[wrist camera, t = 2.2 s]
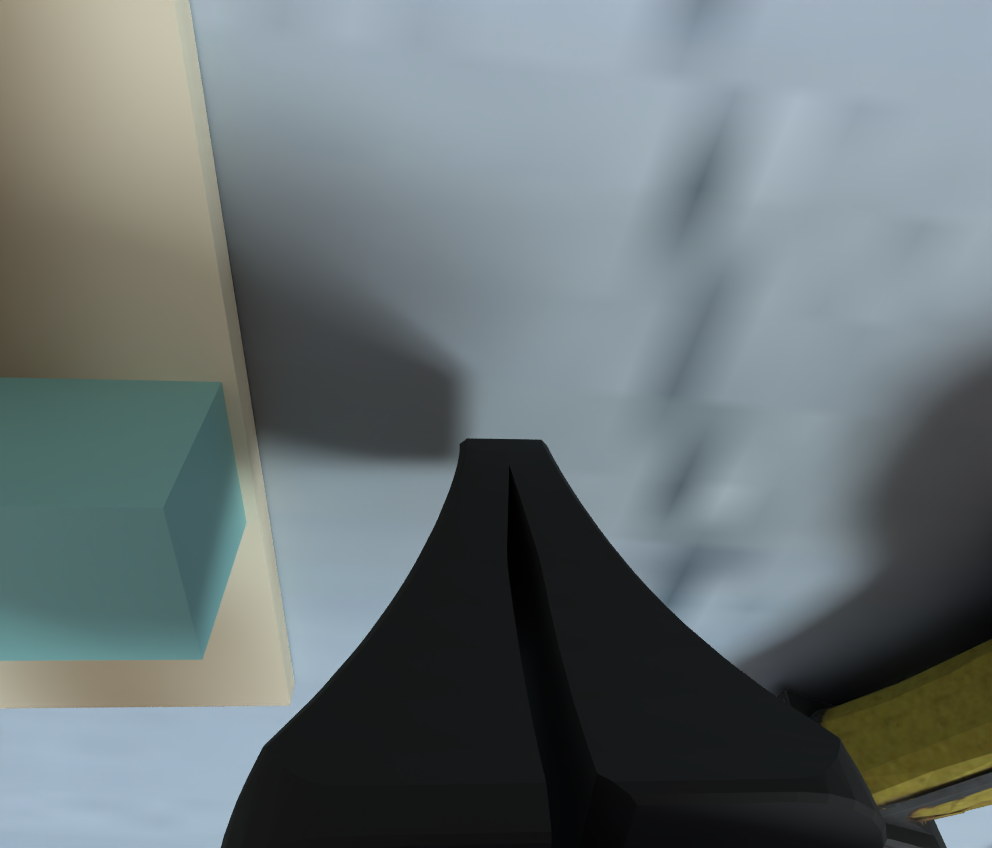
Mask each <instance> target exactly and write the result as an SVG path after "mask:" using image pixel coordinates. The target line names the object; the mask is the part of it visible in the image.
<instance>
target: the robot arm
mask: <svg viewBox="0 0 992 848" xmlns="http://www.w3.org/2000/svg"><path fill="white" fill-rule="evenodd" d="M886 840H887V835H886V824H885V822H884V820H883V818H882V816H881V813H880V811H879V809H878V807H877V805H876V803H875V801H874V798H873V796H872V794H871V792H870V790H869V788H868V786H867V784H866V782H865V780H864V779H863V777H862V775H861V773H860V771H859V769H858V768H857V766H856V765H855V763H854V761H853V760H852V758H851V756H850V755H849V753H848V752H847V750H846V748H845V746H844V745H843V743H842V741H841V739H840V738H839V737H838V736H836V735H834V734H833V733H831V732H830V731H828V730H827V729H825V728H824V727H822V726H821V725H819V724H817V723H816V722H814V721H813V720H811V719H810V718H808V717H807V716H805V715H804V714H802V713H801V712H799V711H797V710H796V709H794V708H793V707H791V706H790V705H788V704H787V703H785V702H784V701H782V700H780V699H779V698H777V697H776V696H774V695H773V694H772V693H770V692H769V691H767V690H766V689H765V688H763V687H762V686H761V685H759V684H758V683H757V682H755V681H754V680H753V679H751V678H750V677H749V676H747V675H746V674H745V673H743V672H742V671H740V670H739V669H738V668H736V667H735V666H734V665H733V664H731V663H730V662H729V661H728V660H726V659H725V658H724V657H723V656H721V655H720V654H719V653H718V652H717V651H716V650H714V649H713V648H712V647H711V646H710V645H709V644H707V643H706V642H705V641H704V640H703V639H702V638H700V637H699V636H698V635H697V634H696V633H695V632H693V631H692V630H691V629H690V628H689V627H688V626H686V625H685V624H684V623H683V622H682V621H681V620H680V619H679V618H678V617H677V616H676V615H675V614H674V613H673V612H672V611H671V610H670V609H669V608H667V607H666V606H665V605H664V604H663V603H662V601H661V600H660V599H659V598H658V597H657V596H656V595H655V594H654V593H653V592H652V591H651V590H650V589H649V588H648V587H647V586H646V585H645V584H644V583H643V581H642V580H641V579H640V578H639V577H638V576H637V575H636V574H635V573H634V571H633V570H632V569H631V568H630V567H629V566H628V564H627V563H626V562H625V561H624V560H623V558H622V557H621V556H620V555H619V553H618V552H617V551H616V550H615V549H614V547H613V546H612V545H611V544H610V542H609V541H608V540H607V538H606V537H605V536H604V534H603V533H602V532H601V530H600V529H599V528H598V526H597V525H596V524H595V522H594V521H593V519H592V518H591V517H590V515H589V514H588V512H587V511H586V509H585V508H584V507H583V505H582V504H581V502H580V501H579V499H578V498H577V496H576V495H575V493H574V492H573V490H572V489H571V487H570V485H569V484H568V482H567V481H566V479H565V477H564V476H563V474H562V472H561V471H560V469H559V467H558V465H557V464H556V462H555V460H554V458H553V456H552V455H551V453H550V451H549V449H548V447H547V445H546V444H545V443H544V442H543V441H542V440H528V439H469V438H467V439H466V440H465V441H463V442H462V443H461V444H460V453H459V459H458V464H457V468H456V472H455V475H454V478H453V481H452V484H451V487H450V490H449V493H448V495H447V498H446V500H445V503H444V505H443V508H442V510H441V512H440V515H439V517H438V520H437V522H436V524H435V526H434V528H433V530H432V532H431V534H430V536H429V538H428V540H427V542H426V544H425V546H424V548H423V550H422V551H421V553H420V555H419V557H418V559H417V561H416V563H415V564H414V566H413V568H412V570H411V571H410V573H409V575H408V576H407V578H406V580H405V581H404V583H403V584H402V586H401V587H400V589H399V591H398V592H397V594H396V595H395V597H394V598H393V600H392V601H391V603H390V604H389V606H388V607H387V608H386V610H385V611H384V613H383V614H382V615H381V617H380V618H379V620H378V621H377V622H376V624H375V625H374V626H373V628H372V629H371V631H370V632H369V633H368V635H367V636H366V637H365V638H364V640H363V641H362V642H361V644H360V645H359V646H358V647H357V649H356V650H355V651H354V652H353V653H352V654H351V656H350V657H349V658H348V659H347V660H346V661H345V662H344V664H343V665H342V666H341V667H340V668H339V669H338V670H337V672H336V673H335V674H334V675H333V676H332V677H331V678H330V680H329V681H328V682H327V683H326V684H325V685H324V687H323V688H322V689H321V690H320V691H319V692H318V693H317V694H316V695H315V696H314V697H313V698H312V699H311V700H310V701H309V702H308V703H307V704H306V705H305V706H304V707H303V708H302V709H301V710H300V711H299V712H298V713H297V714H296V715H295V716H294V717H293V718H292V719H291V720H290V721H289V722H288V723H287V724H286V725H285V726H284V727H283V728H282V729H281V730H280V731H279V732H278V733H277V734H276V735H275V736H274V737H273V738H271V739H270V740H269V741H268V742H267V743H266V744H265V745H264V747H263V748H262V750H261V752H260V754H259V756H258V758H257V760H256V762H255V764H254V766H253V768H252V770H251V772H250V774H249V776H248V778H247V780H246V782H245V784H244V787H243V789H242V791H241V793H240V795H239V797H238V800H237V802H236V805H235V807H234V810H233V812H232V815H231V818H230V821H229V824H228V826H227V829H226V832H225V835H224V838H223V842H222V846H221V848H883V847H884V845H885V842H886Z"/></svg>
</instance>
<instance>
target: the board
mask: <svg viewBox="0 0 992 848" xmlns="http://www.w3.org/2000/svg"><path fill="white" fill-rule="evenodd" d="M0 377H10V378H58V379H105V380H152V381H199V382H222V387H223V393H224V398H225V404H226V409H227V415H228V421H229V426H230V432H231V437H232V443H233V449H234V454H235V460H236V465H237V471H238V477H239V482H240V488H241V493H242V499H243V505H244V510H245V516H246V521H247V523H246V526H245V529H244V532H243V535H242V539H241V542H240V545H239V548H238V551H237V554H236V557H235V560H234V563H233V567H232V570H231V573H230V576H229V579H228V582H227V585H226V588H225V591H224V594H223V598H222V601H221V604H220V607H219V610H218V613H217V616H216V619H215V622H214V626H213V629H212V632H211V635H210V638H209V641H208V644H207V647H206V650H205V653H204V657H203V660H67V661H0V708H92V707H198V706H290V704H291V699H292V694H293V689H294V684H295V681H294V675H293V668H292V662H291V655H290V649H289V643H288V636H287V630H286V623H285V617H284V610H283V604H282V597H281V591H280V584H279V578H278V571H277V565H276V559H275V552H274V546H273V539H272V533H271V526H270V520H269V513H268V507H267V500H266V494H265V487H264V481H263V475H262V468H261V462H260V455H259V449H258V442H257V436H256V429H255V423H254V416H253V410H252V403H251V397H250V390H249V384H248V378H247V371H246V365H245V358H244V352H243V345H242V339H241V332H240V326H239V319H238V313H237V306H236V300H235V294H234V287H233V281H232V274H231V268H230V261H229V255H228V248H227V242H226V235H225V229H224V222H223V216H222V210H221V203H220V197H219V190H218V184H217V177H216V171H215V164H214V158H213V151H212V145H211V138H210V132H209V126H208V119H207V113H206V106H205V100H204V93H203V87H202V80H201V74H200V67H199V61H198V54H197V48H196V41H195V35H194V29H193V22H192V16H191V9H190V3H189V0H0Z"/></svg>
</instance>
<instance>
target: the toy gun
mask: <svg viewBox="0 0 992 848" xmlns="http://www.w3.org/2000/svg"><path fill="white" fill-rule="evenodd" d="M777 698H779V699H780V700H782V701H784V702H785V703H787V704H788V705H790V706H791V707H793V708H794V709H796V710H797V711H799V712H801V713H802V714H804V715H805V716H807V717H808V718H810V719H811V720H813V721H814V722H816V723H817V724H819V725H821V726H822V727H824V728H825V729H827V730H828V731H830V732H831V733H833V734H834V735H836V736H838V737H839V738H840V739H841V741H842V743H843V745H844V746H845V748H846V750H847V752H848V753H849V755H850V756H851V758H852V760H853V761H854V763H855V765H856V766H857V768H858V769H859V771H860V773H861V775H862V777H863V779H864V780H865V782H866V784H867V786H868V788H869V790H870V792H871V794H872V796H873V798H874V801H875V803H876V805H877V807H878V809H879V811H880V813H881V816H882V818H883V820H884V822H885V824H886V835H887V840H886V842H885V845H884V847H883V848H947V847H946V845H945V843H944V841H943V839H942V836H941V834H940V832H939V830H938V828H937V825H936V823H935V821H934V819H939V818H943V817H948V816H952V815H956V814H961V813H964V812H965V811H968V810H972V809H976V808H980V807H984V806H988V805H992V639H990V640H988V641H986V642H984V643H982V644H980V645H978V646H976V647H974V648H972V649H969V650H967V651H965V652H963V653H961V654H959V655H957V656H955V657H953V658H951V659H949V660H946V661H944V662H942V663H940V664H938V665H936V666H934V667H932V668H930V669H928V670H925V671H923V672H921V673H919V674H917V675H915V676H912V677H910V678H907V679H905V680H902V681H900V682H897V683H895V684H893V685H890V686H888V687H885V688H883V689H880V690H878V691H875V692H873V693H870V694H867V695H865V696H862V697H860V698H857V699H855V700H852V701H850V702H847V703H844V704H842V705H837V706H834V705H831V704H828V703H825V702H822V701H819V700H816V699H813V698H810V697H807V696H804V695H802V694H799V693H796V692H793V691H790V690H787V689H784V691H783V693H782V694H781V695H779V696H778V697H777Z"/></svg>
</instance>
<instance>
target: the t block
mask: <svg viewBox="0 0 992 848" xmlns="http://www.w3.org/2000/svg"><path fill="white" fill-rule="evenodd" d="M246 523H247V521H246V516H245V510H244V505H243V499H242V493H241V488H240V482H239V477H238V471H237V465H236V460H235V454H234V449H233V443H232V437H231V432H230V426H229V421H228V415H227V409H226V404H225V398H224V393H223V387H222V382H199V381H152V380H105V379H58V378H10V377H0V661H67V660H203V657H204V653H205V650H206V647H207V644H208V641H209V638H210V635H211V632H212V629H213V626H214V622H215V619H216V616H217V613H218V610H219V607H220V604H221V601H222V598H223V594H224V591H225V588H226V585H227V582H228V579H229V576H230V573H231V570H232V567H233V563H234V560H235V557H236V554H237V551H238V548H239V545H240V542H241V539H242V535H243V532H244V529H245V526H246Z"/></svg>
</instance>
